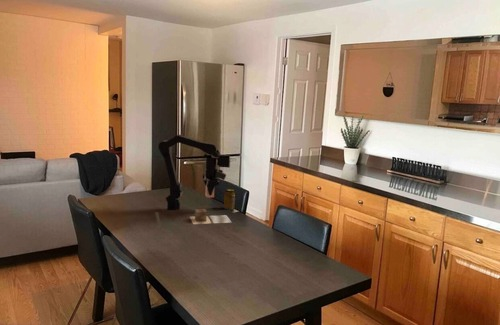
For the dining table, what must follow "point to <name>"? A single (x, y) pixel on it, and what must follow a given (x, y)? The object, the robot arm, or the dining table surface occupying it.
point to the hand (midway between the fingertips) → (209, 194)
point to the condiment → (229, 200)
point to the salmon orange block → (208, 193)
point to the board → (214, 219)
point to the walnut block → (200, 215)
